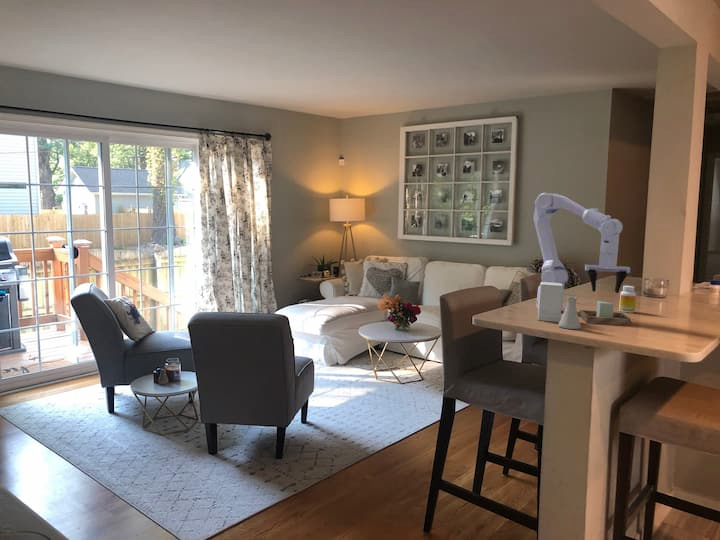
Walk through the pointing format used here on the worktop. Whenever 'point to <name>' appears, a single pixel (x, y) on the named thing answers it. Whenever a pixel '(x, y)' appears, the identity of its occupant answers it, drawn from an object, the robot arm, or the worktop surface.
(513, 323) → the worktop surface
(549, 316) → the supplement box
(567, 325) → the flask
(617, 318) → the tray
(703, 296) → the worktop surface
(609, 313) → the sage block
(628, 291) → the supplement bottle
